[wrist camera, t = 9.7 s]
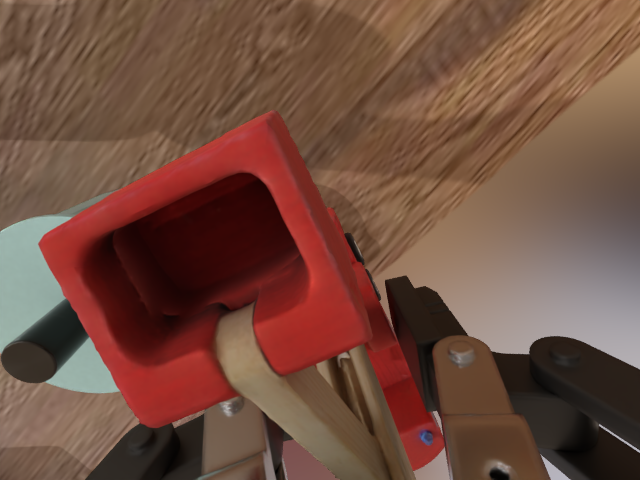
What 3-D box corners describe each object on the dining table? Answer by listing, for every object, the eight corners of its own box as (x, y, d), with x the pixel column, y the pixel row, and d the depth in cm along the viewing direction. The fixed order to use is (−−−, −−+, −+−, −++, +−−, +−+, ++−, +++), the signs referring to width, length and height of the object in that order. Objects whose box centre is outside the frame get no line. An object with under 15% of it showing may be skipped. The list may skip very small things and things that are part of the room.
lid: (-59, 237, 21) (-181, 282, 15) (145, 188, 20) (90, 216, 15) (47, 397, 25) (-19, 473, 20) (216, 360, 25) (193, 428, 20)
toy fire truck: (361, 407, 17) (428, 739, 8) (209, 150, 13) (-26, 255, 4) (425, 381, 17) (568, 699, 8) (291, 107, 12) (262, 101, 3)
